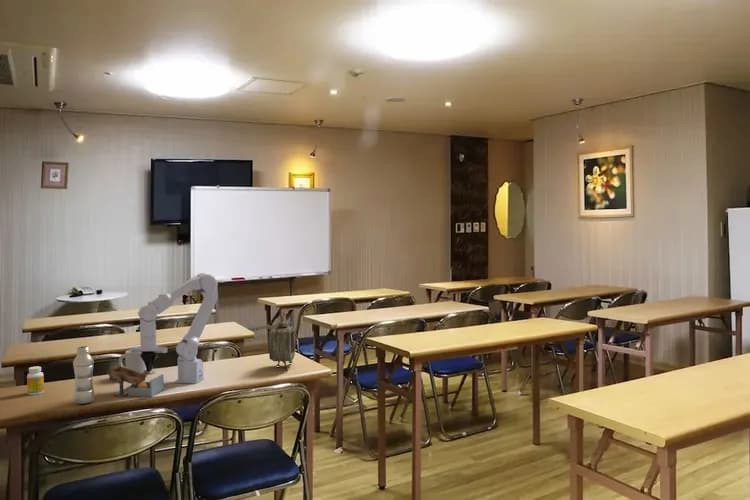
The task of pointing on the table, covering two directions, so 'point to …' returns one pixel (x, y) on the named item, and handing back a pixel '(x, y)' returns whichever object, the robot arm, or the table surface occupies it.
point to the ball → (142, 385)
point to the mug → (133, 361)
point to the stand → (122, 391)
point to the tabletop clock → (282, 342)
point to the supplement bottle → (35, 381)
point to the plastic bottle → (83, 376)
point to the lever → (128, 375)
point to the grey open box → (148, 388)
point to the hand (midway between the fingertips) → (149, 370)
